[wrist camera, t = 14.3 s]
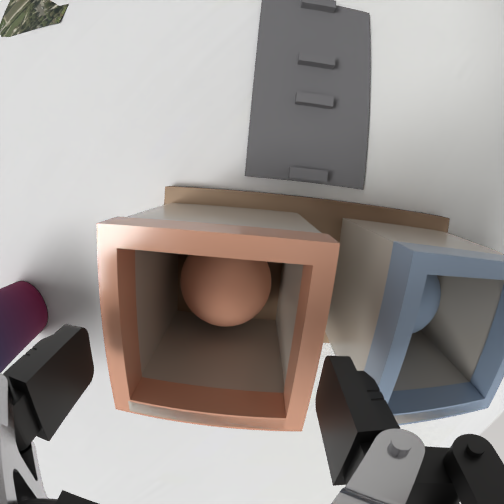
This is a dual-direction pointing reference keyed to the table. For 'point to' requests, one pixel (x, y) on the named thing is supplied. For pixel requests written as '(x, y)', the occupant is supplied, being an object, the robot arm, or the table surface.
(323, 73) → the mat
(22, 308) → the cup
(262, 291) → the ball terracotta
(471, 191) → the table surface
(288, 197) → the tube board
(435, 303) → the ball slate
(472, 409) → the tube slate
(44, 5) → the eiffel tower figurine
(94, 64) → the table surface
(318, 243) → the tube terracotta
